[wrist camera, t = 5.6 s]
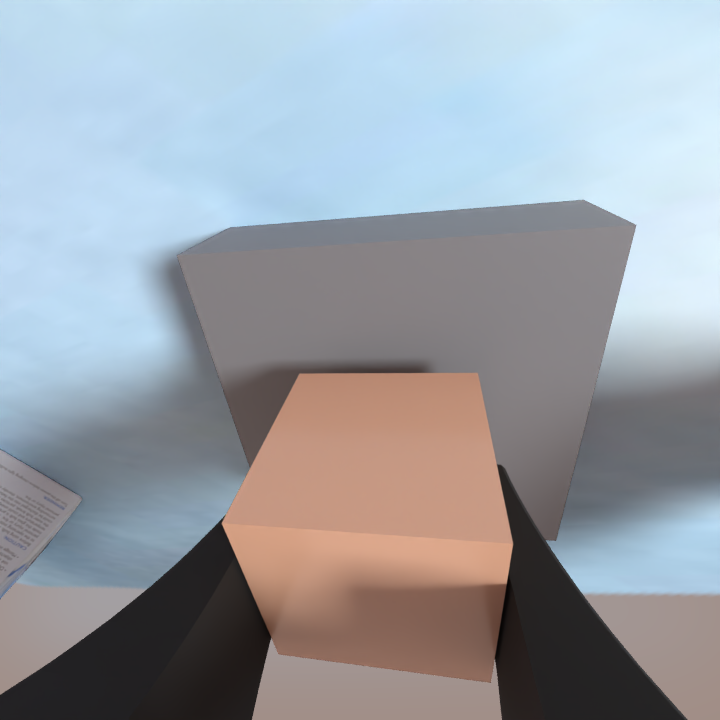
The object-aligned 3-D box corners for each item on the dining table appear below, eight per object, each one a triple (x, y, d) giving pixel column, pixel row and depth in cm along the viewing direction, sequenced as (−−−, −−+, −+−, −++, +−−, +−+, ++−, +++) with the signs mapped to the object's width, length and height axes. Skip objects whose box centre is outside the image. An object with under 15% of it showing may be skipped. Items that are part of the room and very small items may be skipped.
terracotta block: (477, 372, 10) (513, 544, 6) (469, 499, 13) (490, 682, 9) (299, 373, 11) (221, 523, 7) (324, 491, 14) (278, 654, 9)
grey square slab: (579, 197, 12) (636, 225, 9) (532, 464, 18) (556, 540, 15) (234, 225, 15) (176, 255, 11) (294, 456, 21) (268, 521, 17)
